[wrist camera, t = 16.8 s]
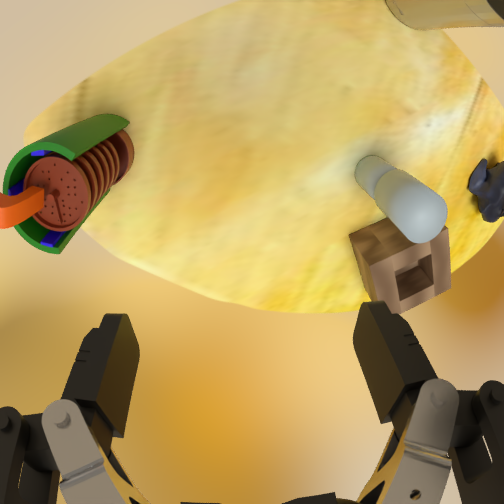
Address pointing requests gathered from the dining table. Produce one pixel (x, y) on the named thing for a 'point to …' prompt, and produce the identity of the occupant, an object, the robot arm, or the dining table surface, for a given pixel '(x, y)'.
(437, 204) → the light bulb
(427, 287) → the housing
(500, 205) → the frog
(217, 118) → the dining table surface
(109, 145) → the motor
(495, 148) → the dining table surface
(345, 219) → the dining table surface
